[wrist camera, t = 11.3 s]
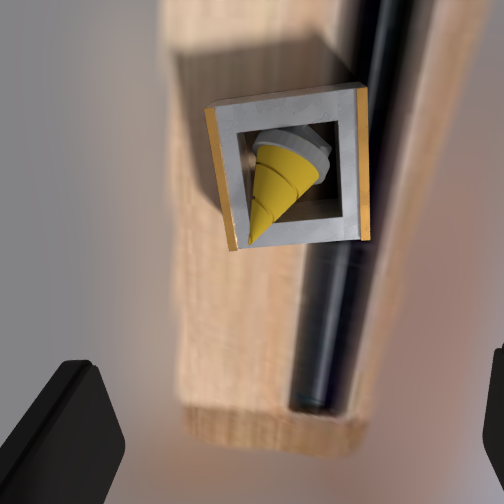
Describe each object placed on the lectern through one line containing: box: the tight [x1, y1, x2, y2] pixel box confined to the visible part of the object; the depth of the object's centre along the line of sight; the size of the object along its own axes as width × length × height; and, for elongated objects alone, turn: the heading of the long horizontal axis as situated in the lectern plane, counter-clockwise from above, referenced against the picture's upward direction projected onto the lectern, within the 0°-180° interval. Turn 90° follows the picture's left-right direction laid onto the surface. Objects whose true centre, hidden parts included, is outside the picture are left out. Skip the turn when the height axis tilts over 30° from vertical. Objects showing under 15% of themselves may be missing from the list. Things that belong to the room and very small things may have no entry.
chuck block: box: [204, 81, 370, 251], centre depth 30 cm, size 10×10×4 cm
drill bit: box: [248, 124, 332, 245], centre depth 29 cm, size 5×5×10 cm
